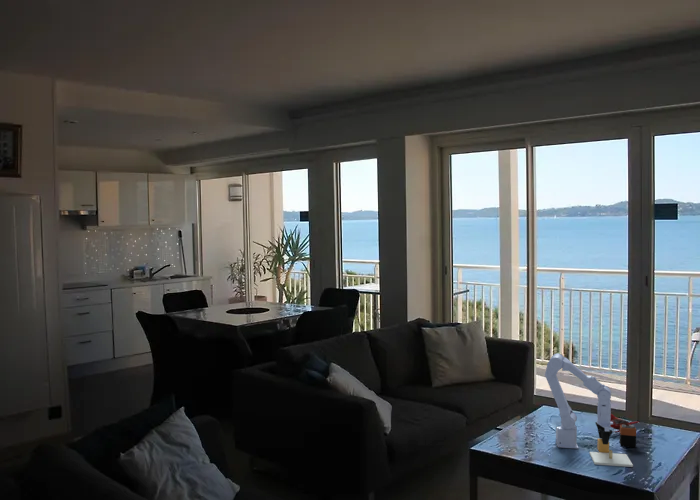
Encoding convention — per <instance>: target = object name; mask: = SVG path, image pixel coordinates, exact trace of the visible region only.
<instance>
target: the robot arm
mask: <svg viewBox="0 0 700 500" xmlns="http://www.w3.org/2000/svg"><path fill="white" fill-rule="evenodd" d="M561 369H562V370H561ZM559 371H562V372H563V371H565V372H569V373H571V374H573V375H574V376H575V377H576V378H578V379H579V380H580V381H582V383H583V386H584V387H585V388H587V389H588V390H589V391H591V392H592V393H593V394H594V395H595V396H597V399H598V400H597V401H598V402H597V420H596V422H594V423H595V425H596V428H597V433H598V438H600V439H602V442H603V444H608V442H609V443H610V438H611V435H612V434H613V433H614V432H613V431H614V430H612V429H610V428H611V427H610V425H611V424H613V422H610V420H611V414H612V413H611V412H612V411H611V409H612V407H611V406H612V405H611V403H612V401H611V398H612V390H611V388H609V386H607V385H605V384H604V383H601V382H600V381H599V380H597V377H596V376H592V375H587V374H586V373H584V372H583V371H582V370H581V369H580V368H579V367H577V366H576V365H575V364H574V363H573V362H572V361H571V360H570V359H568V357H565V356H564V355H563V354H561V353H554V354H552V356H551V358H550V359H549V361H548V362H547V363H546V369H545V374H544V376H545V380H546V381H547V383H548V386H549V388H550V390H551V394H552V395H553V398H554V401H555V403H556V405H557V408H558V409H559V410H558V411H559V416H560V420H561V421H560V423H561V424H560V426H556V427H555V444H556V446H557V447H558V448H562V449H563V448H565V449H578V450H579V446H578V442H577V439H578V438H577V434H578V433H577V430H578V428H577V427H578V426H577V424H576V422H577V421H578V420H577V419H578V417H577V414H576V413H575V412H574V411H573V410H572V407H571V406H570V405H569V403H568V401H567V398H566V396H565V393H564V390H563V388H562V386H561V383H560V380H559V378H558V376H557V374H558V372H559Z"/></svg>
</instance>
